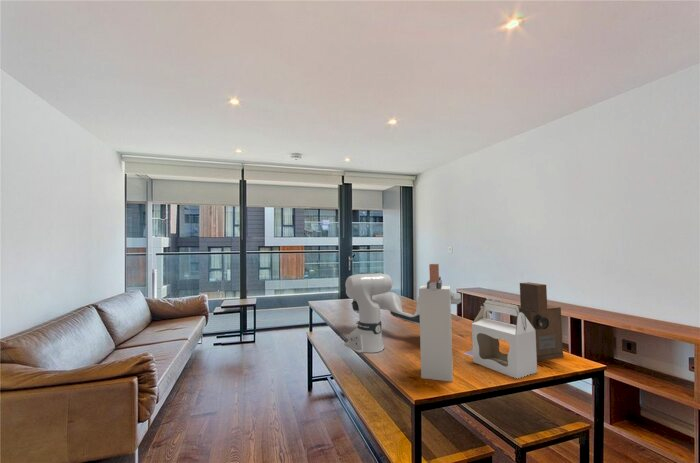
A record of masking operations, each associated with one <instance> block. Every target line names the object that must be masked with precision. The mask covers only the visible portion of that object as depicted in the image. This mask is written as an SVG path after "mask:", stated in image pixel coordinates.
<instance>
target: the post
mask: <svg viewBox="0 0 700 463" xmlns="http://www.w3.org/2000/svg"><path fill="white" fill-rule="evenodd" d="M430 283H431V281H430V279H429V280H427V282H426V285H420V287H419V288H418V297H419V311H420V326H419V335H420V336H419V338H420V340H419V343H420V347H419V348H420V378H421V379H427V380H434V381H443V382H444V381H445V382H451V383H453V376H454V375H453V373H454V371H453V370H454V368H453V367H454V365H453V345H452V344H453V342H452V341H453V340H452V339H453V337H452V335H453V333H452V307H451V306H452V304H451V299H450V291H451V286H450V285H443V280H442V279H441V280H439V281H438V287H437V290H436V291H430V289H429V284H430Z"/></svg>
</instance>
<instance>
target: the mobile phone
mask: <svg viewBox="0 0 700 463" xmlns="http://www.w3.org/2000/svg"><path fill="white" fill-rule="evenodd" d="M463 354H464V355H465V356H466V355H467V356H470V357H473V349H471V350H468V351H465V352H464V353H463Z"/></svg>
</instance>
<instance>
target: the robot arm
mask: <svg viewBox="0 0 700 463" xmlns="http://www.w3.org/2000/svg"><path fill="white" fill-rule="evenodd" d="M344 286H345V294H346V296H347V297H348V298H349V299H351V300H352V302H351V306H352V310H353V311H354V312H355V313H357V314H358V315H359V316H358V318H359V320H358V321H356V322H355V324H356V325H357V326H356V328H355V329H353V330H352V331H351V332H350V333H349V335H348V341H345V342H344V343H343V346H344V347H347V348H348V349H350V350H352V351H354V352H355V353H360V354H362V353H368V354H369V353H370V354H371V353H378V352H382V351H384V350H385V346H384V342H383V334H382V321H381V310H382V311H388V312H390V315H391V316H393V317H394V318H397V319H400V320H402V321H406V322H408V323H412V324H415V325H417V326H419V327H420V311H419V296H418V297H417V300H416V302H417V303H416V308H415V313H414V314H411V313H407V312H404V311H403V307H402V306H403V305H402V300H401V297H400V296H399V295H398V294H397V293H396V292H392V291H391V290H392V288H393V280H392V277H391V276H390V275H389V274H388V273H382V272H380V273H379V272H377V273H374V272H373V273H358V274H357V273H355V274H353V275H352V274H351V275H350V276H348V277H347V278H346V280H345V284H344ZM450 299H451V305H459V304H461V303H463V302H462V301H463V300H462V294H461V293H460V292H452V290H450ZM383 349H384V350H383Z"/></svg>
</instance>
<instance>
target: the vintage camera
mask: <svg viewBox="0 0 700 463" xmlns="http://www.w3.org/2000/svg"><path fill="white" fill-rule="evenodd" d="M547 292H548V291H547V284H543V283H537V282H529V281H528V282H520V283H519V298H520V303H519V304H520V305H518V306H519V310H520V312H522V313H523V314H525V316H526V318H527V319H528V321H529V322H530V323H531V325H532V326H533V328H534V329H535V333H536V356H537V363H538V362H542V361H549V360H554V359H555V360H556V359H562V358H564V357H565V356H564V349H563V344H564V343H563V328H562V326H563V325H562V307H561V306H557V305H552V304H548V293H547ZM512 324H514V325H516V324H517V316H514V315H512Z"/></svg>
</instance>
